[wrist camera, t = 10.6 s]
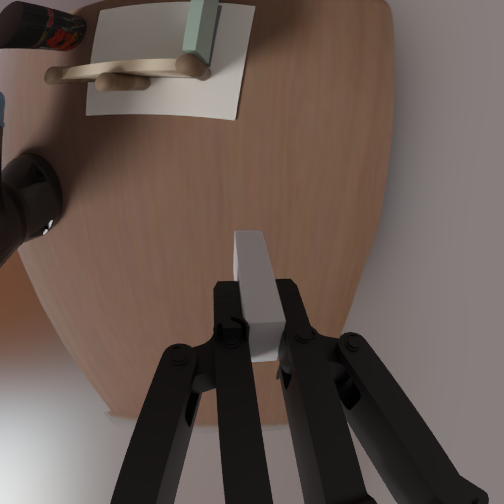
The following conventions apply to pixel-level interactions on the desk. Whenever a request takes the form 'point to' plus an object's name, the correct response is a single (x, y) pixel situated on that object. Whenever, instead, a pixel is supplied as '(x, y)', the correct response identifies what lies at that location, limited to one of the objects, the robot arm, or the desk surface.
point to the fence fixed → (129, 73)
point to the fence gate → (200, 29)
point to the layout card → (170, 47)
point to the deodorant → (39, 28)
